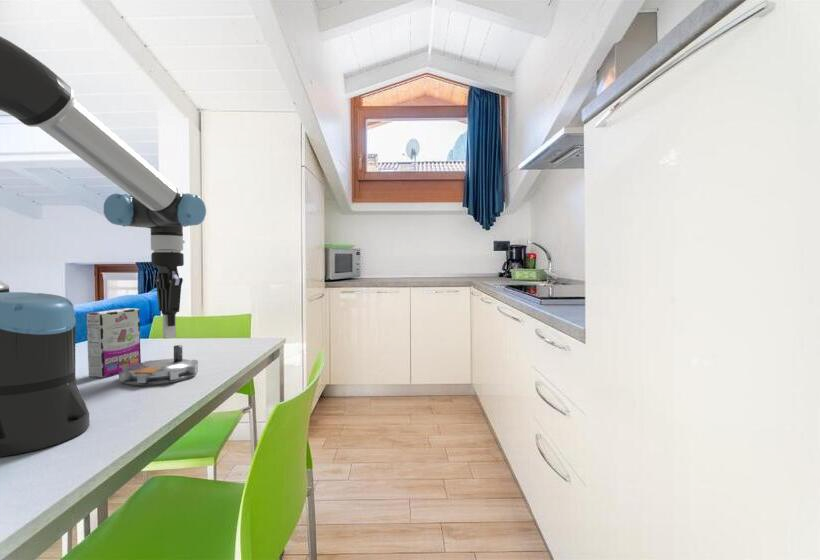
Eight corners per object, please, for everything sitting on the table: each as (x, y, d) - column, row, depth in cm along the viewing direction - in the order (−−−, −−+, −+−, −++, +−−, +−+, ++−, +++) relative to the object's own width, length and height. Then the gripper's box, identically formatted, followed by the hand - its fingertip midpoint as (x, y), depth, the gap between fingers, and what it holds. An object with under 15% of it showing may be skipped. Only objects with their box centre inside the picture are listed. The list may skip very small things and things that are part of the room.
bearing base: (134, 390, 89) (134, 387, 89) (113, 377, 99) (113, 374, 99) (207, 376, 102) (207, 372, 102) (181, 365, 112) (181, 363, 112)
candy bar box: (126, 366, 111) (125, 307, 110) (141, 367, 110) (140, 308, 109) (86, 377, 100) (85, 312, 99) (102, 378, 99) (101, 312, 98)
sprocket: (132, 387, 89) (132, 360, 88) (109, 373, 99) (108, 350, 99) (211, 372, 102) (210, 348, 102) (183, 361, 113) (182, 340, 112)
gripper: (192, 251, 107) (194, 338, 108) (173, 252, 115) (175, 332, 116) (161, 251, 101) (163, 342, 102) (143, 251, 109) (145, 336, 111)
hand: (169, 337), depth 109 cm, fingers closed
